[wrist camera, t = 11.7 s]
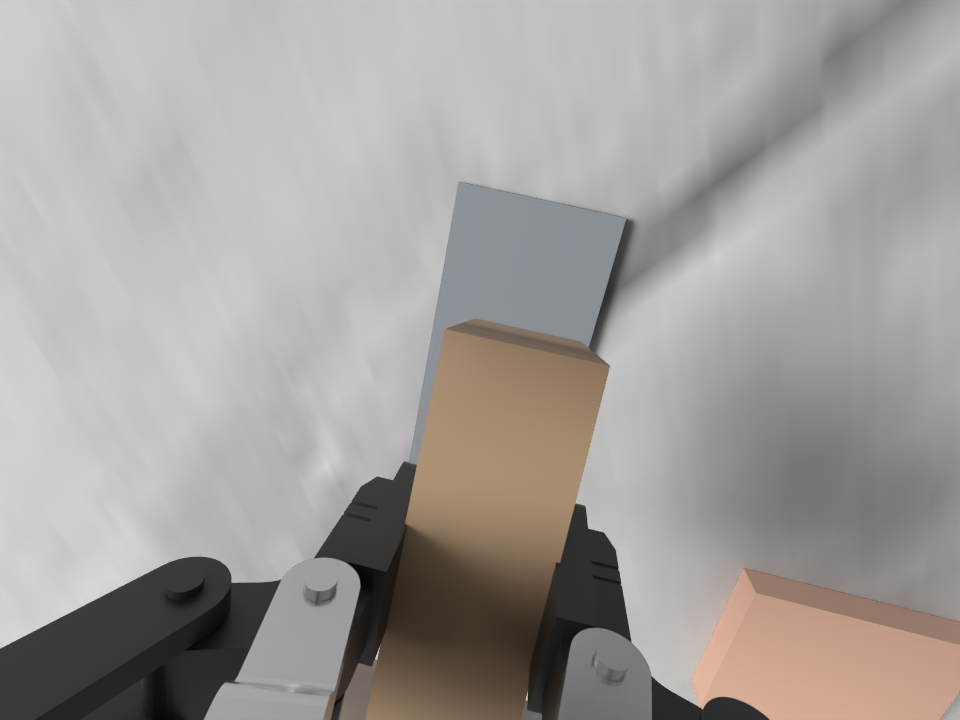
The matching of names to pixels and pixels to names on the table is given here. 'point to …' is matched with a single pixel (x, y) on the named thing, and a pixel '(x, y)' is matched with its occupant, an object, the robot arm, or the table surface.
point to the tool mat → (520, 271)
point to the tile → (828, 655)
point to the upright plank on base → (483, 525)
